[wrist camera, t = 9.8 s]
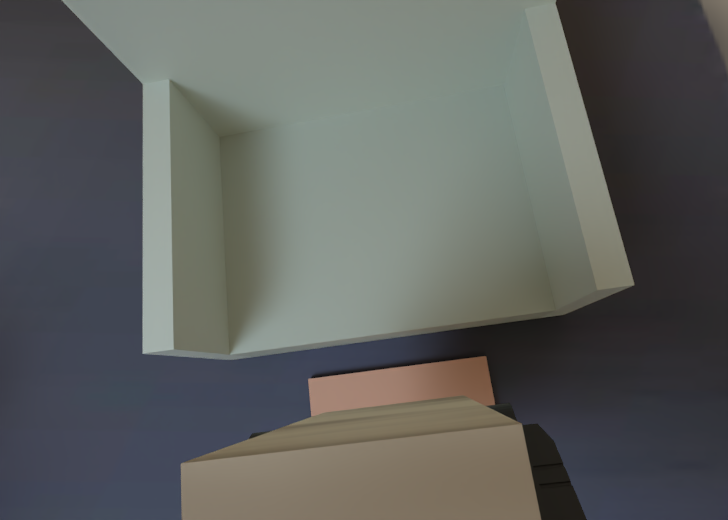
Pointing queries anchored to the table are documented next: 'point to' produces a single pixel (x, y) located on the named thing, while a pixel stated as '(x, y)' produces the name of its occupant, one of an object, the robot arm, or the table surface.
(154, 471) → the table surface
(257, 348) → the cubby
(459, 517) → the birch block
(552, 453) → the robot arm
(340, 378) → the mat
